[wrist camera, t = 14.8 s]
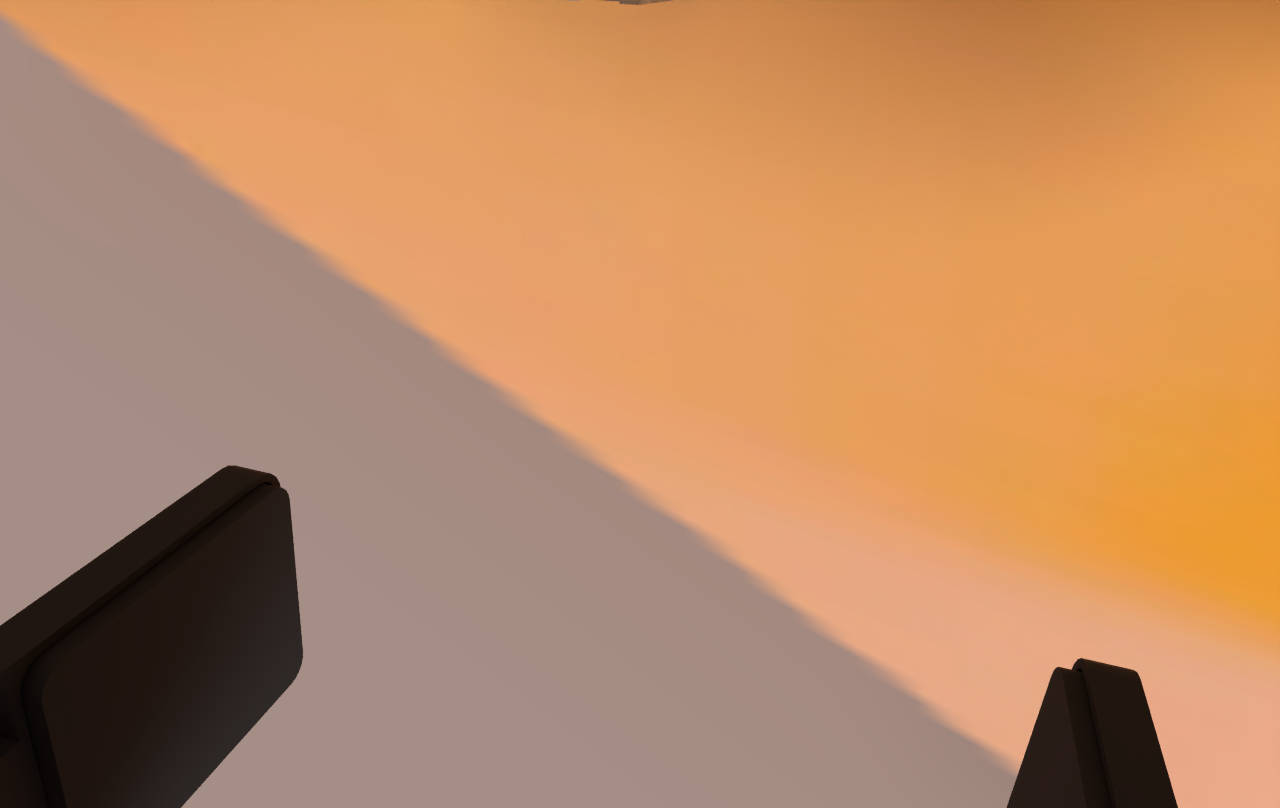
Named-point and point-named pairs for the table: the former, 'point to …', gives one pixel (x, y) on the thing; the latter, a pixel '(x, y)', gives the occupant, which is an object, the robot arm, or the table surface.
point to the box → (635, 1)
